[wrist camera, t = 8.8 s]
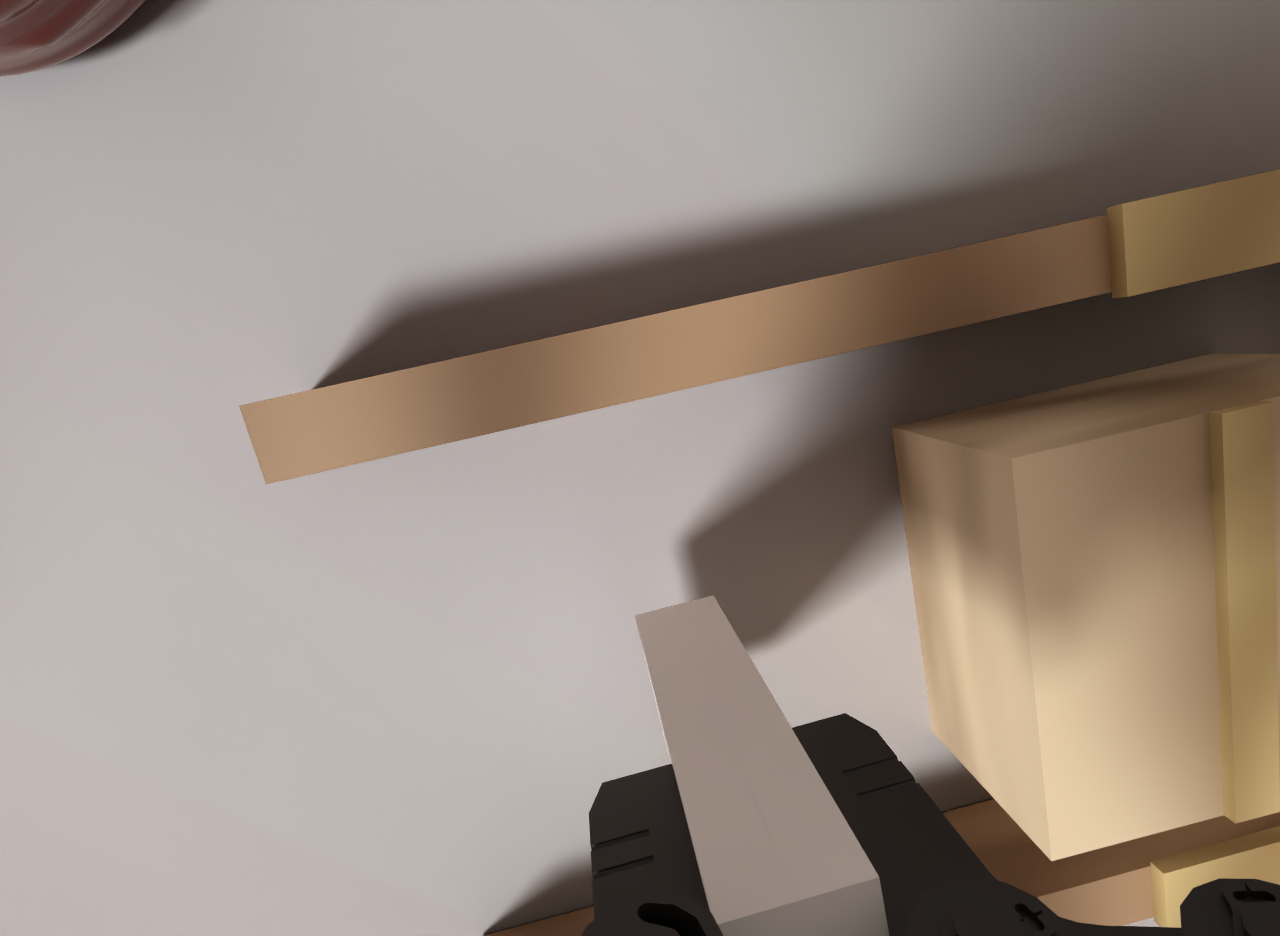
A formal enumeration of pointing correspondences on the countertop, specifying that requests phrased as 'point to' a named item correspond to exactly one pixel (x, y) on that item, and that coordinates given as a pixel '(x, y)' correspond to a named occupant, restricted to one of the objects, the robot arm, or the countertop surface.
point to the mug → (55, 30)
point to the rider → (1106, 597)
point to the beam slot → (816, 328)
